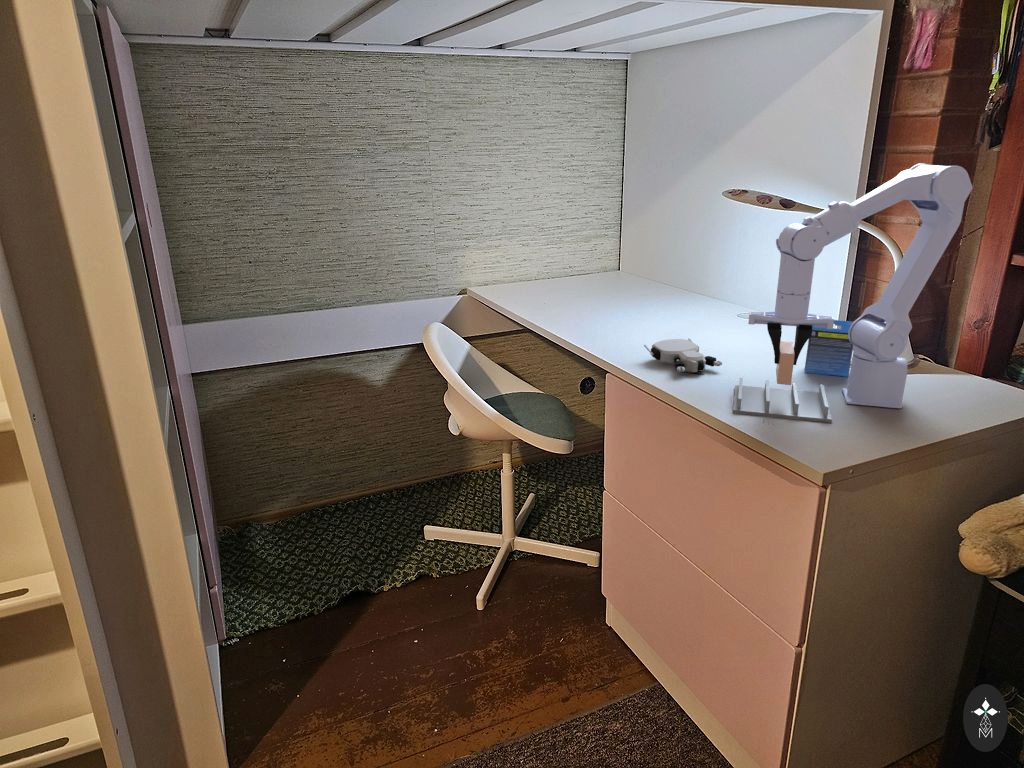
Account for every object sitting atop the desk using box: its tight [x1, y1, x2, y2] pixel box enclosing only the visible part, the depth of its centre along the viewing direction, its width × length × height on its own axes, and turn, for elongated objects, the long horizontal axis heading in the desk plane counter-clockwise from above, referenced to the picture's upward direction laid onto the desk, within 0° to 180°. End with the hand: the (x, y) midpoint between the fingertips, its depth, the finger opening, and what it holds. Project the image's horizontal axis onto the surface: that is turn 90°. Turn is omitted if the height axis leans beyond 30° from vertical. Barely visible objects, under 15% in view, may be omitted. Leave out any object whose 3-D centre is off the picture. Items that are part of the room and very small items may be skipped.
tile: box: [775, 340, 795, 386], centre depth 130 cm, size 2×8×6 cm, turn 162°
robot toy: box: [643, 338, 723, 373], centre depth 155 cm, size 12×4×15 cm
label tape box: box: [804, 319, 854, 378], centre depth 147 cm, size 9×4×12 cm, turn 66°
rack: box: [732, 377, 833, 423], centre depth 132 cm, size 17×14×3 cm
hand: (785, 362), depth 130 cm, fingers closed on tile, 2 cm apart
